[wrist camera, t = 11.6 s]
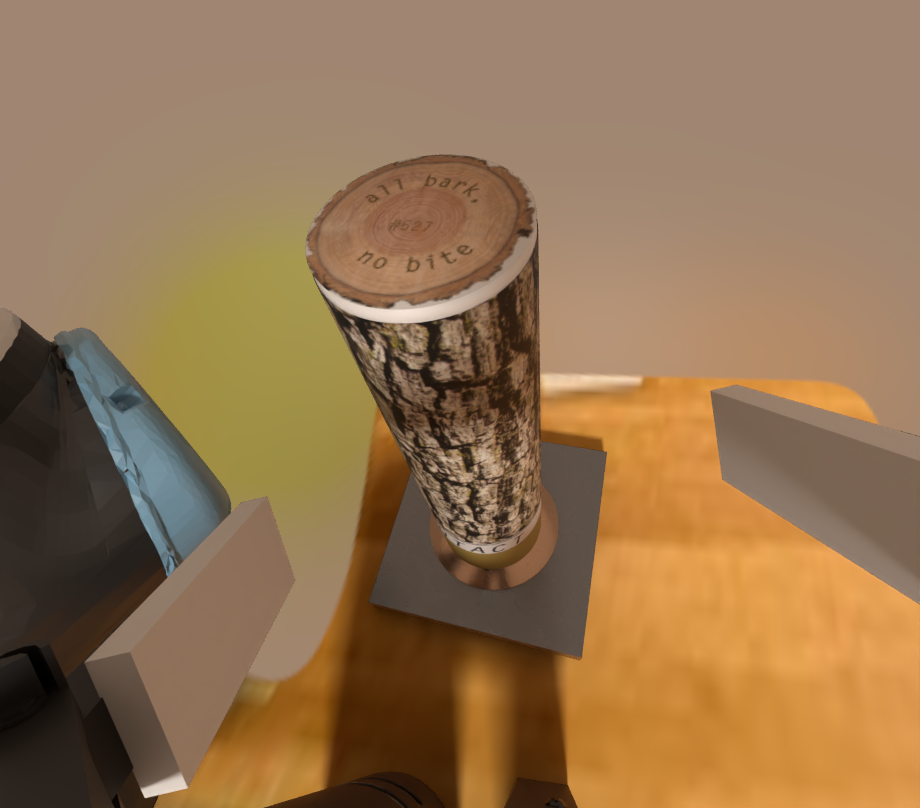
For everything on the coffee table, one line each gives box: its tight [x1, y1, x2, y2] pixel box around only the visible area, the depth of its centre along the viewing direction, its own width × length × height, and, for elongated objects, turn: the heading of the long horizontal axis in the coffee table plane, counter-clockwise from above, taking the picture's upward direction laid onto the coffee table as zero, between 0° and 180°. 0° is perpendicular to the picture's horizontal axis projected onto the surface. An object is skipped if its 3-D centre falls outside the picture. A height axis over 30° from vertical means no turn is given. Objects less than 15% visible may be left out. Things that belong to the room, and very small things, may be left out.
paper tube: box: [306, 155, 541, 569], centre depth 25 cm, size 7×7×25 cm
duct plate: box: [369, 441, 607, 660], centre depth 36 cm, size 14×14×2 cm
